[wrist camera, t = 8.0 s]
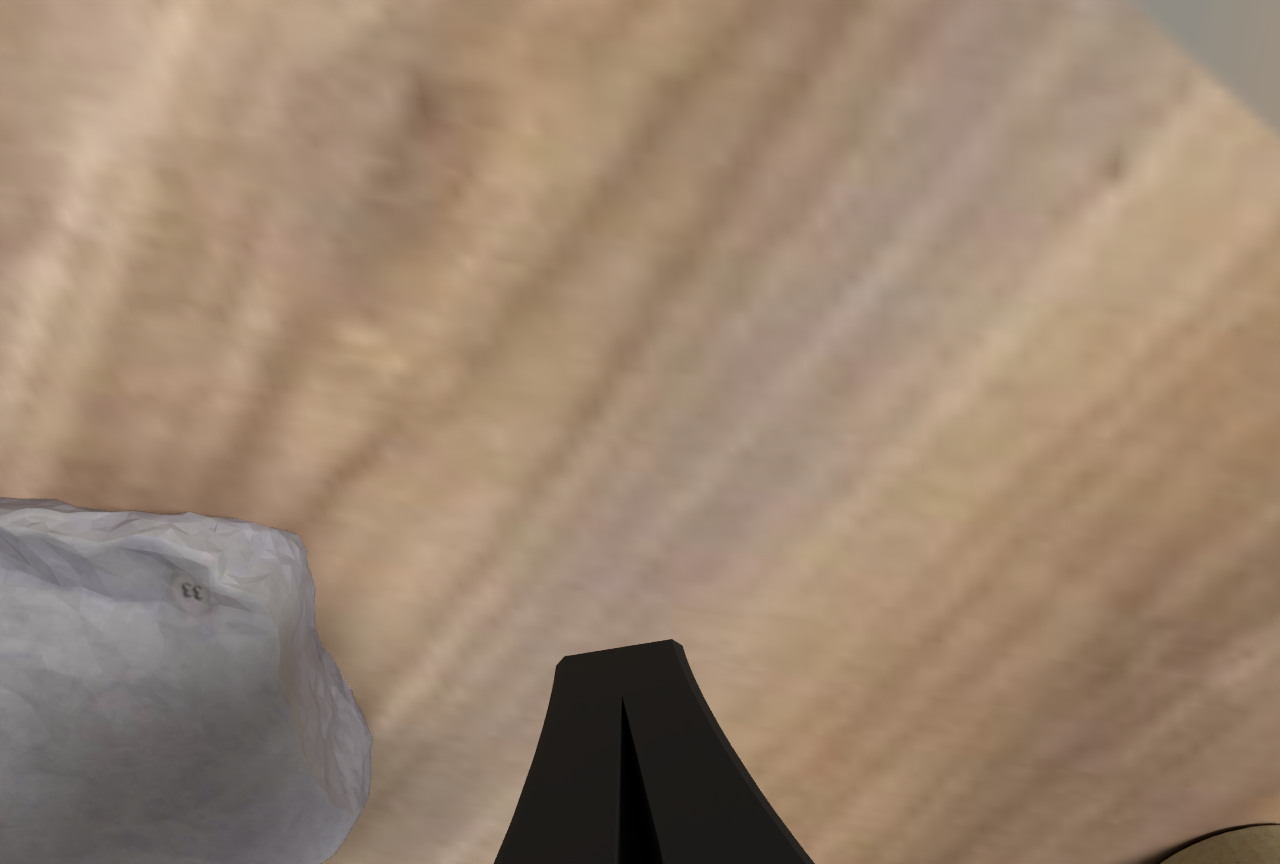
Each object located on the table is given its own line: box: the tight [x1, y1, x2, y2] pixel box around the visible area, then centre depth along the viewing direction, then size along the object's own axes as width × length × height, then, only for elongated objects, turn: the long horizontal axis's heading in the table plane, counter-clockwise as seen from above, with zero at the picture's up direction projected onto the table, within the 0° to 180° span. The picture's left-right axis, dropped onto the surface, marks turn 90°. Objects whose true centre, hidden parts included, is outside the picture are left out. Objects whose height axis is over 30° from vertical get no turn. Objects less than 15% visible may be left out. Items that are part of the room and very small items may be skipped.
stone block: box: [0, 497, 372, 864], centre depth 21 cm, size 12×5×10 cm
